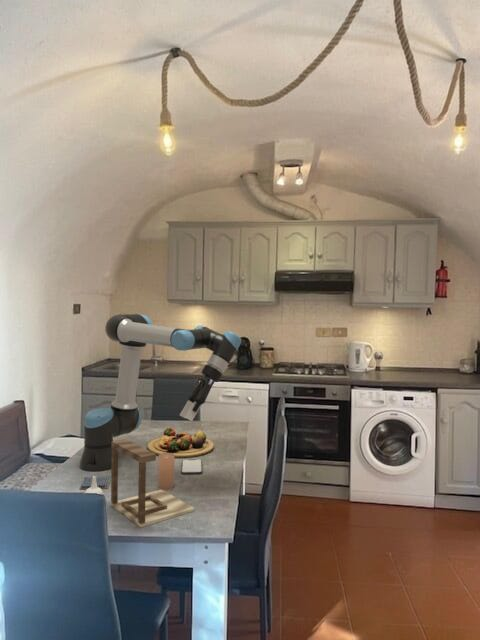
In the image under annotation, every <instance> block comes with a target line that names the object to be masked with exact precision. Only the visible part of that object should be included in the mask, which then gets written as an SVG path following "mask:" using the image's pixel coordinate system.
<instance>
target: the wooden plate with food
mask: <svg viewBox="0 0 480 640" xmlns="http://www.w3.org/2000/svg"><path fill="white" fill-rule="evenodd" d="M146 449H147V450H149V451H151V452H153V453H155V454H156V457H158V456H159V454H162V453H172V454H174V455H175V459H192V458H198V457H203V456H205V455H208V453H209V454H210V453H212V452H213V451H214V449H215V444H214V442H213V441H212V440H210V439H208V438H207V435H206V433H205V432H204V431H202V430H200V429H198V430H197V431H196V432H195V433H194V435H191V434H188V433H187V432H185V431H183V432H179V433H177V434H176V431H175V429H174V427H172V426H169V427H167V428H166V429H164V431H163V435H162V436H161V437H158V438H155V439H153V440H151V441H149V442H148V443H147V446H146Z"/></svg>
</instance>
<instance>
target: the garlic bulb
mask: <svg viewBox="0 0 480 640" xmlns="http://www.w3.org/2000/svg"><path fill="white" fill-rule="evenodd" d="M96 477H97V476H96V475H93V476H92V478H93V479H92V485H91V487H90V488H88V489H87V490H85V491H84V494H85V493H97V494H103V495H104V492H103V489H100V488H99V487H97V482H96Z"/></svg>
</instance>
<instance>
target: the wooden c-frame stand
mask: <svg viewBox="0 0 480 640" xmlns="http://www.w3.org/2000/svg"><path fill="white" fill-rule="evenodd" d="M111 447H112V467H111V469H110V470H111V477H110V481H111V482H110V485H111V486H110V487H111V488H110V489H111V491H110V495H111V496H110V506H111V507H112V508H114V510H116V511H118V512H119V513H121V514H122V515H123V516H124V517H126V518H127V519H128V520H130V521H132V522H133V523H135V525H137V526H138V527H140V528H143V527H147V526H150V525H153V524H157V523H159V522H164V521H166V520H169V519H173V518H176V517H179V516H183V515H186V514H189V513H192V512H195V507H193V506H191V505H190V504H188V503H186V502H185V501H183V500H181V499H179V498H178V497H176V496H174V495H172V494H170V493H169V492H167V491H166V490H162V489H157V490H154V491H150V492H147V493H146V487H147V486H146V485H147V484H146V482H147V481H146V480H147V479H146V478H147V477H146V476H147V473H146V472H147V463H150V462H155V461H157V456H156V454H155V453H153V452H151V451H149V450H147V448H144V447H142V446H140V445H138V444H136V443H134V442H132V441H130V440H128V439H126V438H125V439H119V440H113V441H112V445H111ZM119 453H121V454H123V455H125V456H127V457H129V458H131V459H132V460H134V461H136V462H138V494H137V495H135V496H131V497H127V498H123V499H119V498H118V496H119V495H118V493H119V492H118V490H119V489H118V488H119V486H118V485H119Z"/></svg>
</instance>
